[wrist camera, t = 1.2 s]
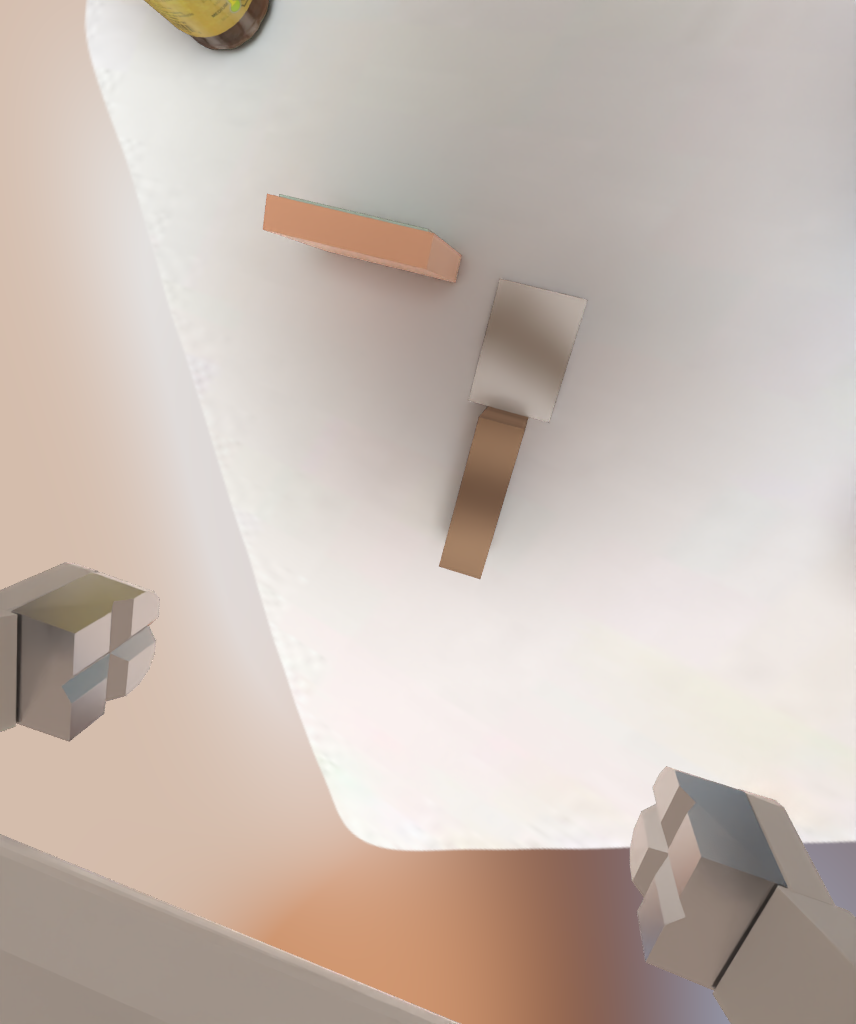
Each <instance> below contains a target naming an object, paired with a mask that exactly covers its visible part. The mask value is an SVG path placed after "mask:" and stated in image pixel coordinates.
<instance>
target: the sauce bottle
mask: <svg viewBox="0 0 856 1024" xmlns="http://www.w3.org/2000/svg"><path fill="white" fill-rule="evenodd" d="M144 1H146V2H147V3H148V4H149V5H150V6H151V7H153V8H154V9H155V10H156V11H157V12H159V13H160V14H161V15H162V16H163V17H165V18H166V19H167V20H168V21H169V22H170V23H172V24H173V25H174V26H175V27H176V28H178V29H179V30H181V31H183V32H185V33H187V34H189V35H190V36H192V37H193V38H194V39H195V40H196V41H197V42H198V43H200V44H201V45H203V46H205V47H207V48H210V49H216V50H218V49H234V48H237V47H238V46H240V45H241V44H243V43H244V42H246V41H248V40H249V39H251V38H252V37H253V35H254V34H255V32H256V31H257V30H258V29H259V26H260V23H261V22H262V20H263V19H264V17H265V15H266V12H267V10H268V5H269V0H144Z"/></svg>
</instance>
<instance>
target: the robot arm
mask: <svg viewBox="0 0 856 1024" xmlns="http://www.w3.org/2000/svg"><path fill="white" fill-rule="evenodd" d="M159 601H160V599H159V597H158V596H157V595H156V594H155V592H154V591H151V590H148V589H146V588H143V587H140V586H137V585H134V584H132V583H129V582H127V581H123V580H121V579H118V578H115V577H113V576H110V575H107V574H105V573H100V572H98V571H96V570H94V569H91V568H87V567H84V566H81V565H78V564H75V563H63V564H60V565H58V566H56V567H53V568H51V569H49V570H46V571H44V572H42V573H39V574H37V575H35V576H32V577H30V578H28V579H25V580H23V581H21V582H19V583H16V584H14V585H11V586H9V587H7V588H4V589H2V590H0V732H2V731H5V730H7V729H10V728H13V727H15V726H16V723H17V724H20V725H23V726H26V727H29V728H32V729H34V730H38V731H40V732H43V733H46V734H49V735H52V736H55V737H57V738H60V739H63V740H66V741H71V740H72V739H73V738H74V737H75V736H77V735H78V734H79V733H81V732H82V731H83V730H84V729H86V728H87V727H88V726H89V725H91V724H92V723H93V722H94V721H95V720H97V719H98V718H99V717H100V716H102V715H103V714H104V711H105V704H106V701H109V700H113V699H116V698H120V697H124V696H126V695H127V694H128V693H130V692H131V691H132V690H133V689H134V688H135V687H136V686H138V685H139V684H140V682H141V681H142V679H143V678H144V676H145V675H146V673H147V672H148V670H149V669H150V666H151V663H152V660H153V657H154V654H155V647H156V640H155V638H154V635H153V633H152V632H151V629H150V627H149V625H150V624H152V623H153V622H154V621H155V620H156V619H157V618H158V617H159ZM653 792H654V796H655V800H656V804H655V805H653V806H651V807H649V808H647V809H645V810H643V811H641V813H640V816H639V818H638V820H637V823H636V825H635V828H634V831H633V836H632V841H631V846H630V870H631V877H632V882H633V883H634V885H635V886H636V888H637V889H638V890H639V892H640V893H641V895H642V896H643V897H644V899H643V901H642V903H641V905H640V907H639V909H638V911H637V915H638V921H639V927H640V933H641V938H642V945H643V951H644V956H645V962H647V963H649V964H651V965H654V966H656V967H658V968H661V969H663V970H666V971H668V972H670V973H673V974H676V975H678V976H681V977H683V978H685V979H688V980H690V981H692V982H695V983H697V984H699V985H702V986H704V987H707V988H709V989H711V990H714V992H713V995H714V997H715V999H716V1000H717V1002H718V1003H719V1005H720V1007H721V1008H722V1010H723V1011H724V1013H725V1015H726V1016H727V1018H728V1020H729V1021H730V1023H731V1024H856V917H855V916H854V915H853V914H852V913H851V912H849V911H848V910H845V909H842V908H840V907H837V906H835V904H834V902H833V900H832V898H831V896H830V895H829V893H828V891H827V889H826V887H825V885H824V883H823V881H822V879H821V877H820V876H819V873H818V872H817V870H816V868H815V866H814V864H813V862H812V860H811V858H810V856H809V854H808V852H807V851H806V849H805V847H804V845H803V843H802V841H801V839H800V837H799V835H798V833H797V831H796V830H795V828H794V826H793V824H792V822H791V820H790V818H789V816H788V814H787V812H786V810H785V809H784V807H783V806H782V805H780V804H779V803H778V802H777V801H776V800H773V799H770V798H767V797H764V796H760V795H757V794H754V793H750V792H747V791H744V790H741V789H735V788H732V787H729V786H726V785H723V784H719V783H716V782H713V781H710V780H707V779H704V778H701V777H698V776H695V775H692V774H689V773H685V772H682V771H679V770H676V769H673V768H670V767H667V766H666V767H665V768H664V769H663V770H662V771H661V773H660V774H659V775H658V777H657V779H656V782H655V784H654V786H653ZM0 1024H460V1023H457V1022H455V1021H453V1020H450V1019H448V1018H445V1017H443V1016H441V1015H438V1014H436V1013H433V1012H431V1011H428V1010H426V1009H424V1008H421V1007H419V1006H416V1005H414V1004H412V1003H409V1002H407V1001H404V1000H402V999H399V998H397V997H395V996H392V995H390V994H387V993H385V992H382V991H380V990H378V989H375V988H373V987H370V986H368V985H365V984H363V983H361V982H358V981H356V980H353V979H351V978H348V977H346V976H343V975H341V974H339V973H336V972H334V971H332V970H329V969H327V968H324V967H322V966H319V965H317V964H315V963H312V962H310V961H307V960H305V959H302V958H300V957H298V956H295V955H293V954H290V953H288V952H285V951H283V950H281V949H278V948H275V947H273V946H271V945H268V944H266V943H264V942H261V941H259V940H256V939H254V938H251V937H249V936H246V935H244V934H242V933H239V932H237V931H234V930H232V929H230V928H227V927H225V926H222V925H220V924H217V923H215V922H212V921H210V920H208V919H205V918H203V917H200V916H198V915H195V914H193V913H191V912H188V911H186V910H183V909H181V908H178V907H176V906H174V905H171V904H169V903H166V902H164V901H162V900H159V899H157V898H154V897H152V896H149V895H147V894H145V893H142V892H140V891H137V890H135V889H132V888H130V887H128V886H125V885H123V884H120V883H118V882H115V881H113V880H111V879H108V878H106V877H103V876H101V875H98V874H96V873H94V872H91V871H89V870H86V869H84V868H82V867H79V866H77V865H74V864H72V863H69V862H67V861H64V860H62V859H60V858H57V857H55V856H52V855H50V854H47V853H45V852H43V851H40V850H38V849H35V848H33V847H31V846H28V845H26V844H23V843H20V842H18V841H16V840H14V839H11V838H9V837H6V836H4V835H1V834H0Z"/></svg>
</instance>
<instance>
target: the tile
mask: <svg viewBox="0 0 856 1024" xmlns="http://www.w3.org/2000/svg"><path fill="white" fill-rule="evenodd" d="M263 230H266V231H269V232H272V233H275V234H278V235H281V236H283V237H286V238H289V239H292V240H295V241H298V242H301V243H304V244H307V245H310V246H313V247H316V248H319V249H322V250H325V251H328V252H332V253H336V254H340V255H344V256H348V257H352V258H356V259H360V260H364V261H368V262H373V263H377V264H381V265H385V266H389V267H393V268H397V269H401V270H405V271H409V272H413V273H417V274H421V275H425V276H430V277H434V278H438V279H442V280H446V281H450V282H454V283H455V282H456V278H457V274H458V270H459V265H460V261H461V257H462V255H461V254H460V253H458V252H457V251H456V250H455V249H453V248H452V247H451V246H450V245H448V244H447V243H446V242H444V241H443V240H442V239H441V238H439V237H438V236H437V235H436V234H434V233H433V232H431V231H430V230H429V229H426V228H422V227H417V226H413V225H409V224H405V223H400V222H396V221H392V220H388V219H383V218H379V217H375V216H371V215H366V214H362V213H358V212H354V211H349V210H345V209H341V208H337V207H332V206H328V205H324V204H320V203H315V202H311V201H307V200H303V199H298V198H294V197H290V196H286V195H281V194H279V197H278V196H274V195H270V194H267V198H266V206H265V215H264V224H263Z"/></svg>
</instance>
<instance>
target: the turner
mask: <svg viewBox="0 0 856 1024" xmlns="http://www.w3.org/2000/svg"><path fill="white" fill-rule="evenodd" d="M586 304H587V300H586V299H582V298H578V297H574V296H570V295H566V294H562V293H557V292H553V291H549V290H545V289H541V288H537V287H533V286H529V285H524V284H520V283H516V282H512V281H508V280H504V279H499V283H498V287H497V291H496V295H495V299H494V302H493V306H492V310H491V314H490V318H489V322H488V326H487V330H486V334H485V337H484V341H483V345H482V349H481V353H480V357H479V361H478V365H477V368H476V372H475V376H474V380H473V384H472V388H471V392H470V396H469V399H468V401H471V402H474V403H478V404H482V405H485V406H488V407H487V408H486V409H485V410H484V412H483V413H482V414H481V415H480V416H479V419H478V422H477V426H476V430H475V434H474V437H473V441H472V445H471V449H470V452H469V456H468V460H467V463H466V467H465V471H464V475H463V478H462V482H461V486H460V490H459V493H458V497H457V501H456V505H455V508H454V512H453V516H452V520H451V523H450V527H449V531H448V534H447V538H446V542H445V546H444V549H443V553H442V557H441V561H440V564H439V567H443V568H446V569H449V570H452V571H455V572H459V573H462V574H465V575H468V576H472V577H475V578H478V579H480V578H481V575H482V572H483V568H484V565H485V562H486V558H487V555H488V552H489V548H490V545H491V542H492V538H493V535H494V531H495V528H496V525H497V521H498V518H499V515H500V511H501V508H502V505H503V501H504V498H505V495H506V491H507V488H508V485H509V481H510V478H511V475H512V471H513V468H514V465H515V461H516V458H517V455H518V451H519V448H520V445H521V441H522V438H523V435H524V431H525V428H526V424H527V421H528V418H529V417H530V418H533V419H537V420H541V421H544V422H548V423H549V422H550V419H551V415H552V412H553V409H554V406H555V403H556V399H557V396H558V393H559V390H560V387H561V383H562V380H563V377H564V374H565V371H566V367H567V364H568V361H569V358H570V355H571V352H572V348H573V345H574V342H575V339H576V336H577V332H578V329H579V326H580V323H581V320H582V316H583V313H584V310H585V307H586Z"/></svg>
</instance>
